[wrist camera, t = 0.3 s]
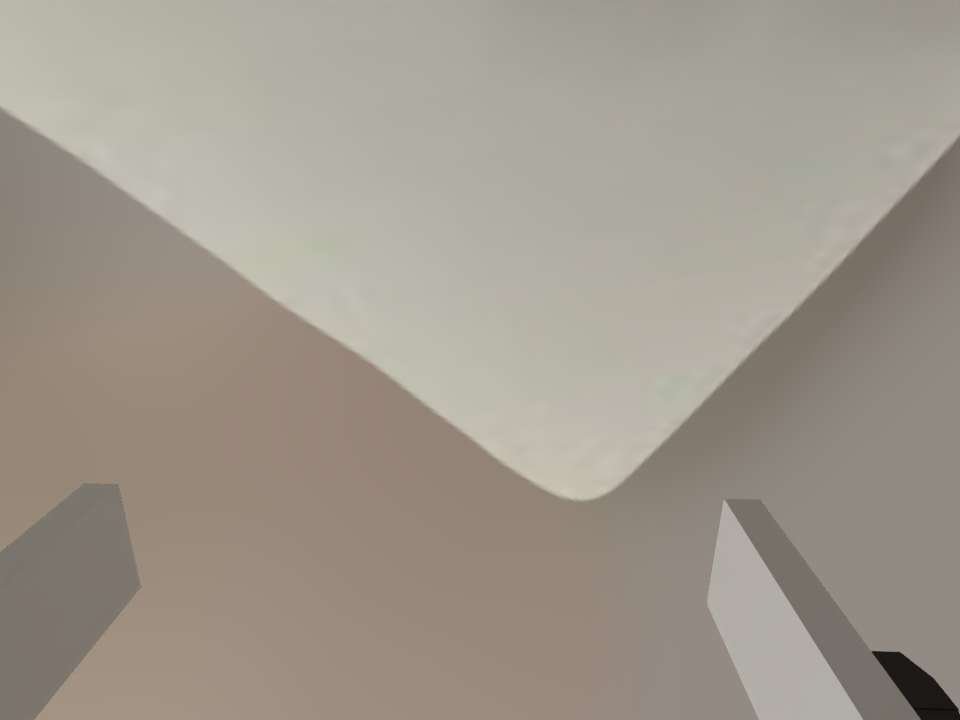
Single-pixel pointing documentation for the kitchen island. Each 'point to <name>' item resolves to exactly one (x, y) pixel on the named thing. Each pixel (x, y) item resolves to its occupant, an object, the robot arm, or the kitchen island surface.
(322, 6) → the kitchen island surface
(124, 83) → the kitchen island surface
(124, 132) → the kitchen island surface
